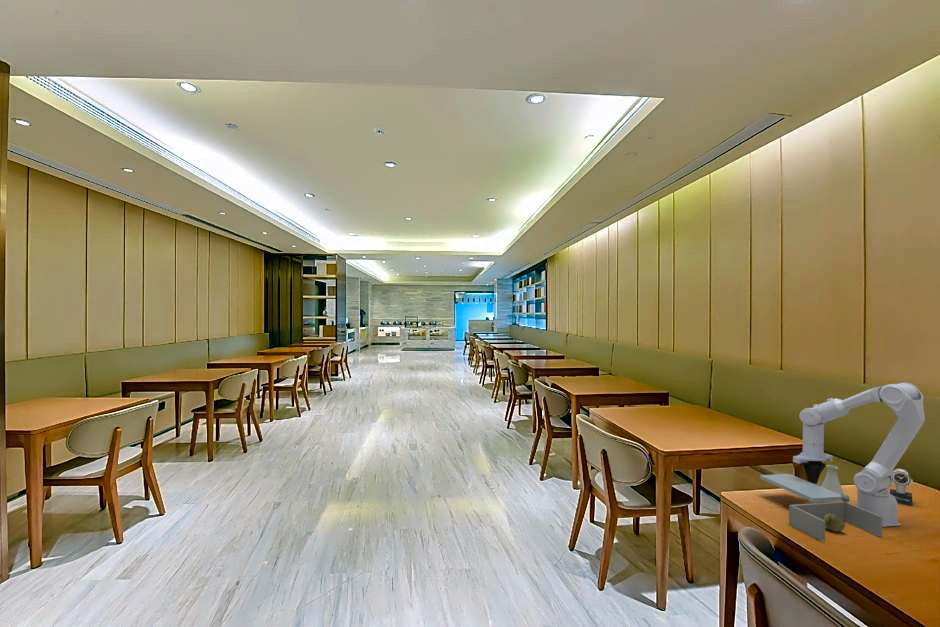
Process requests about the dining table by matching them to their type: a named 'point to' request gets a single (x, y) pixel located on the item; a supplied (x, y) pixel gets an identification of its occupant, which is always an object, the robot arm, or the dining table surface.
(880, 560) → the dining table surface
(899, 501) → the watch
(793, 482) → the cover
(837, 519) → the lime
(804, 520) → the grey angular open frame
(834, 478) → the flask
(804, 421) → the robot arm
